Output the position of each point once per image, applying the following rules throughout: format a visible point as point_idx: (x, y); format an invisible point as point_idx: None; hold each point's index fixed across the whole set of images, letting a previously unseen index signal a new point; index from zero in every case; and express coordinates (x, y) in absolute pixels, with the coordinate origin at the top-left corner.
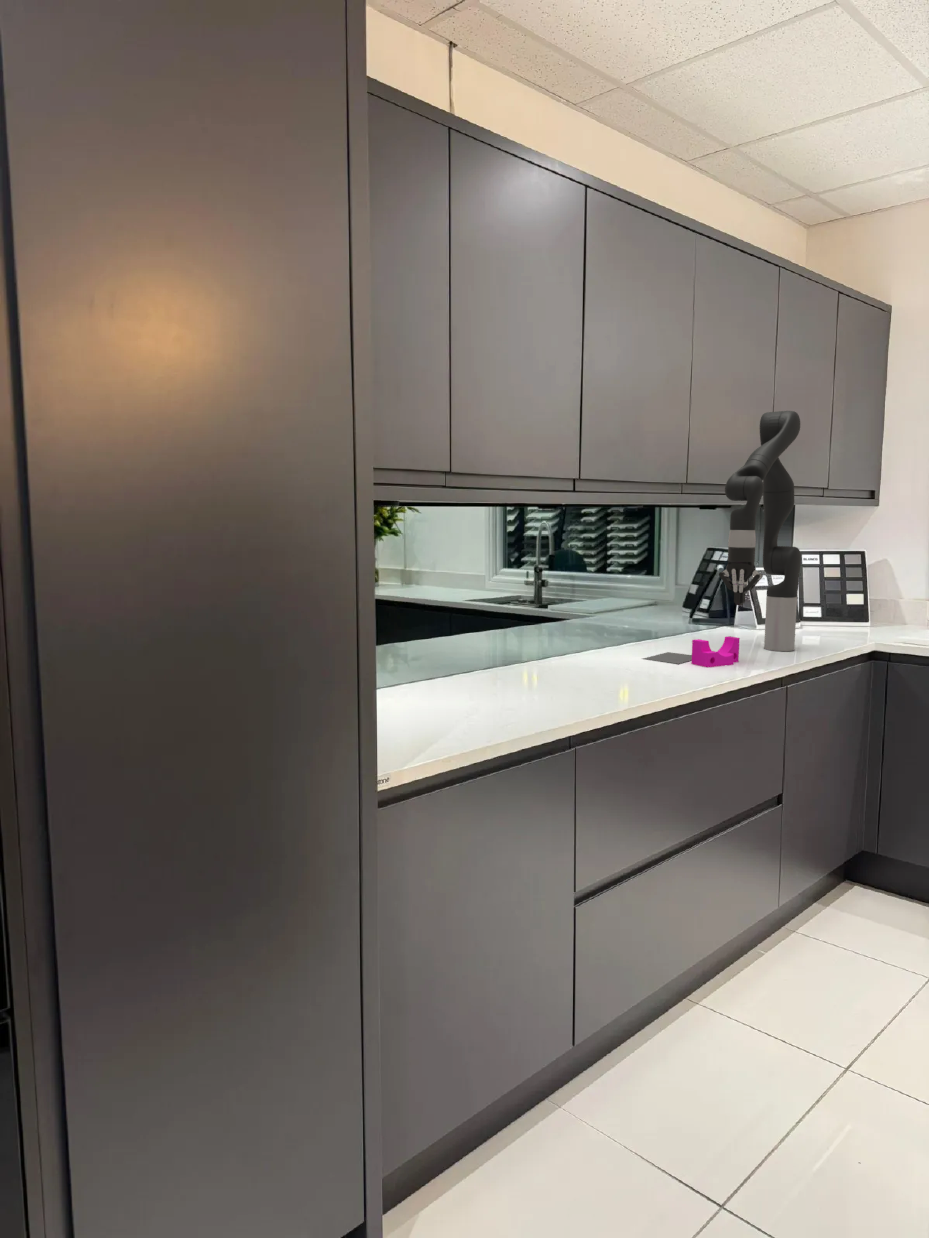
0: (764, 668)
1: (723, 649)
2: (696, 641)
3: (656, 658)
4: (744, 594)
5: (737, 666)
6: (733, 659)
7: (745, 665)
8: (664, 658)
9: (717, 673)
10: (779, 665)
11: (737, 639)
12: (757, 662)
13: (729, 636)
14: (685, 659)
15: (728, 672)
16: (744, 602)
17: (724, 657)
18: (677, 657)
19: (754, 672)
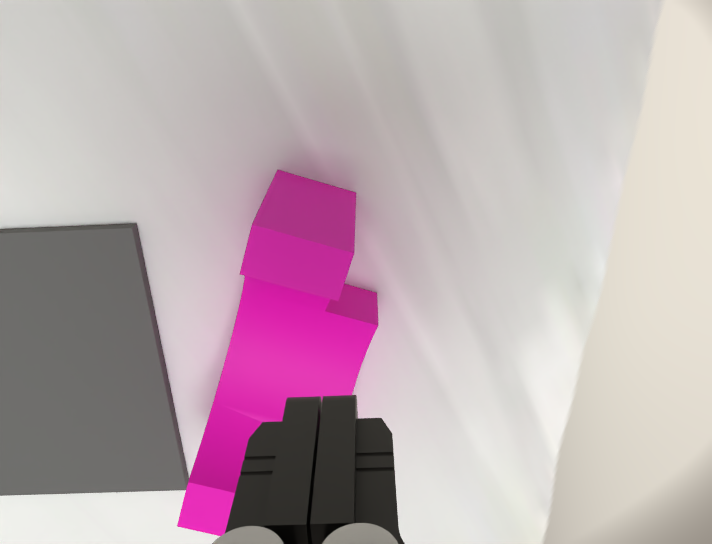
0: (557, 269)
1: (277, 288)
2: (215, 530)
3: (16, 447)
4: (391, 532)
5: (413, 314)
6: (376, 308)
7: (434, 257)
8: (40, 423)
9: (423, 518)
10: (602, 112)
11: (348, 269)
12: (448, 108)
13: (254, 235)
14: (130, 378)
15: (451, 472)
16: (385, 429)
17: (355, 381)
18: (58, 355)
19: (552, 400)
